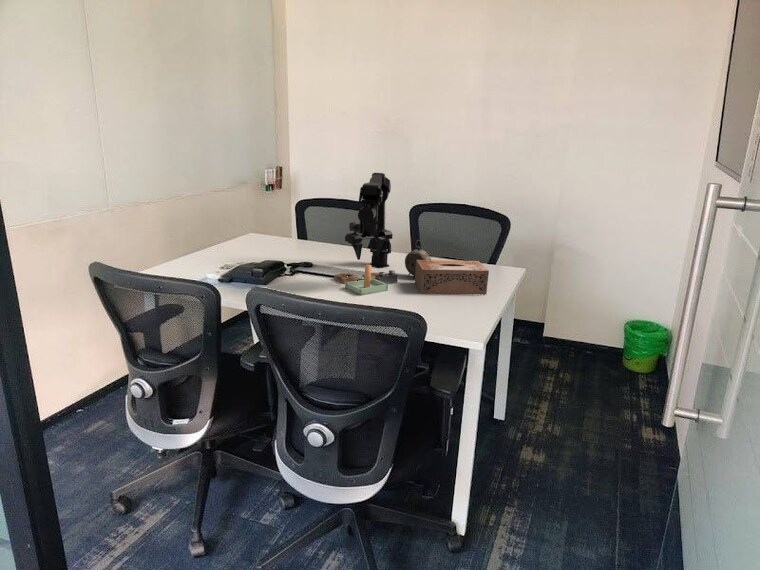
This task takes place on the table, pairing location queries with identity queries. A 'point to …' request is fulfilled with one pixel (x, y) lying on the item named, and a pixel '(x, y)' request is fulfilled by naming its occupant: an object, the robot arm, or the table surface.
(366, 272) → the dowel
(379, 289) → the tray
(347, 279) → the socket block
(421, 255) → the alarm clock
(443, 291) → the tissue box cover
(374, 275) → the tan rectangular slab
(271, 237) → the table surface
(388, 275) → the grey boxy piece
